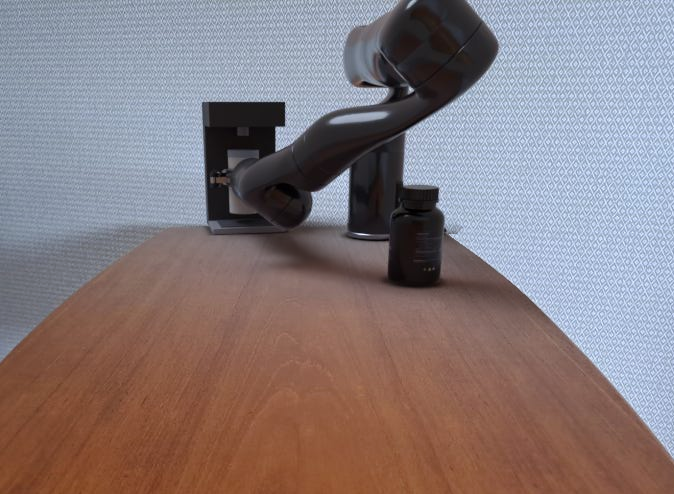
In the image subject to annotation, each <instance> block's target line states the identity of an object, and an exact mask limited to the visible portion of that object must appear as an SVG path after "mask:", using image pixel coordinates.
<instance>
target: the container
mask: <svg viewBox="0 0 674 494" xmlns="http://www.w3.org/2000/svg"><path fill="white" fill-rule="evenodd" d="M247 158H258V159H259V150H258V149H229V150H228V168H235V166H236V165H237V164H238V163H239V162H241V161H242V160H244V159H247ZM229 205H230V213H233V214H254V213H257V212H256V211H254V210H253V209H252V208H250V207H249V206H247V205H246V204H244V203H243V202H242V201H241V200H240V199H239V198H237V196H236V195H235V194H234V192H233V190H232V188H229Z"/></svg>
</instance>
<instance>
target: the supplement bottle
mask: <svg viewBox="0 0 674 494" xmlns="http://www.w3.org/2000/svg"><path fill="white" fill-rule="evenodd" d="M439 197H440V187H439V186H436V185H430V184H403V186H401V187H400V197H399V202H401V206H399V207H398V208H396V209H395V210H394V211H393V212H392V214H391V218H390V233H389V239H388V254H387V270H386V271H387V274H386V277H387V279H388V280H389V282H390V283H393V284H395V285H399V286H405V287H416V288H417V287H429V286H433V285H436V284H437V283H438V282H439V281H440V279H441V271H442V260H443V259H442V258H443V247H444V236H445V232H444V228H445V223H446V216H445V214H444V211H442V210H441V209H440V207H437V204H438V203H440V198H439Z"/></svg>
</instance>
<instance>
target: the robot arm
mask: <svg viewBox="0 0 674 494" xmlns="http://www.w3.org/2000/svg"><path fill="white" fill-rule="evenodd" d="M499 51H500V43H499V39H498V38H497V36H496V35H495V34H494V33H493V31H492V30H491V29H490V27H489V26H488V24H487V23H486V22H485V21H484V20H483V19H482V17H481V16H480V15H479V14H478V13H477V12H476V10H475V9H474V8H473V6H471V5H470V3H469V1H467V0H400V1H399V2H398V3H397V4H396V5H395V6H394V7H393V8H392V10H390V11H388V12H385V13H383V14H382V15H381V16H379V17H377V18H376V19H375V20H374V21H372V22H371V23H369V24H365V25H364V24H363V25H357V26H355V27H353V28H352V29H351V30H350V32H349V33H348V34H347V37H346V40H345V43H344V46H343V53H342V66H343V71H344V75H345V78H346V80H347V82H348V83H349V85H351V86H352V87H355V88H359V89H387V93H386V96H385V97H384V98H383V99H382V100H381V101H379V102H377V103H375V104H368V105H367V104H366V105H358V106H350V107H343V108H339V109H335V110H331V111H330V112H327V113H326V114H323V115H322V116H319V118H318V119H316V120H315V121H314V122H312V123H311V124H310V125H309V126H308V127H307V129H306V130H304V131H303V132H302V133H301V134H300V135H299V136H298V137H297V138H296V139H295V140H294V141H293V142H291V143H290V144H289V145H287V146H284V147H283V148H281V149H279V150H276V152H274V153H271V154H269V155H267V156H264V157H262V158H260V159H258V158H247V159H244V160H242V161H241V162H239V163H238V164H237V165H236V166H235V168H228V169H223V170H222V171H220V172H219V170H217V169H215V170H212V171H211V172H210V180H211V188H217V187H221V183H223V184H225V185H227V186H228V187H229V188H232V190H233V192H234V194H235V195H236V196H237V198H239V199H240V200H241V201H242V202H243V203H244V204H246V205H247V206H249V207H250V208H252V209H253V210H254V211H256V212H257V213H258V214H260V215H261V216H263V217H264V218H265V219H267V220H268V221H269V222H271V223H272V224H273V225H275V226H276V227H278V228H279V229H282V230H285V231H290V230H294V229H296V228H298V227H300V226H302V225H303V224H304V223H305V222H306V221H307V220H308V218H309V216H310V215H311V212H312V211H313V205H314V199H313V195H312V194H313V193H317V192H320V191H322V190H324V189H325V188H326V187H328V186H329V185H330V184H331V183H333V182H334V181H335V180H336V179H338V177H340V176H341V175H342V174H344V172H346V171H348V191H347V195H348V197H347V223H346V226H347V228H346V236H348V237H349V238H353V239H354V238H355V239H359V240H372V241H373V240H375V241H377V240H379V241H380V240H383V241H384V240H389V233H390V218H391V214H392V212H393V211H394V210H395V209H396V208H398V207H399V206H401V202H399V197H400V187H401V186H404V174H405V173H404V172H405V156H406V155H405V154H406V139H407V132H408V131H410V130H411V129H412V128H414V127H416V126H417V125H419V124H421V123H422V122H424V121H426V120H428V119H429V118H431V117H432V116H434V115H436V114H437V113H439V112H440V111H442V110H444V109H445V108H447V107H449V106H450V105H451V104H453V103H454V102H456V101H457V100H459V99H460V98H462V97H463V96H464V95H465V94H466V93H467V92H468V91H470V90H471V89H472V88H473V87H475V85H476V84H477V83H479V81H481V79H482V78H483V77H484V76H485V75H486V74H487V72H488V71H489V70H490V69H491V67H492V66H493V64H494V63H495V61H496V60H497V57H498V56H499V55H498V54H499ZM410 88H411V89H412V91H411V92H410ZM446 232H447V228H446V227H444V233H446Z"/></svg>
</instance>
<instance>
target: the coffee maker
mask: <svg viewBox="0 0 674 494" xmlns="http://www.w3.org/2000/svg"><path fill="white" fill-rule="evenodd" d="M201 115H202V116H201V117H202V140H203V141H202V142H203V163H204V165H203V166H204V188H205V189H204V190H205V191H204V192H205V211H206V212H205V213H206V216H205V217H206V224H207V225H208V228H209V229H210V230H211V232H212V234H213V235H235V234H238V235H239V234H240V235H241V234H265V233H266V234H269V233H286V230H282V229H279V228H278V227H276V226H275V225H273V224H272V223H271V222H269V221H268V220H267V219H265V218H264V217H263V216H261V215H260V214H258V213H254V214H233V213H230V205H229V187H228V186H227V185H225V184H223V183H221V187H217V188H211V180H210V172H211V171H212V170H215V169H217V170H219V172H220V171H222V170H223V169H228V150H229V149H258V150H259V159H260V158H262V157H264V156H267V155H269V154H271V153H274V152H276V151H277V150H276V149H277V148H276V147H277V146H276V145H277V144H276V143H277V142H276V140H277V139H276V136H277V134H276V133H277V132H276V128H280V127H281V128H285V127H286V101H201Z"/></svg>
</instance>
